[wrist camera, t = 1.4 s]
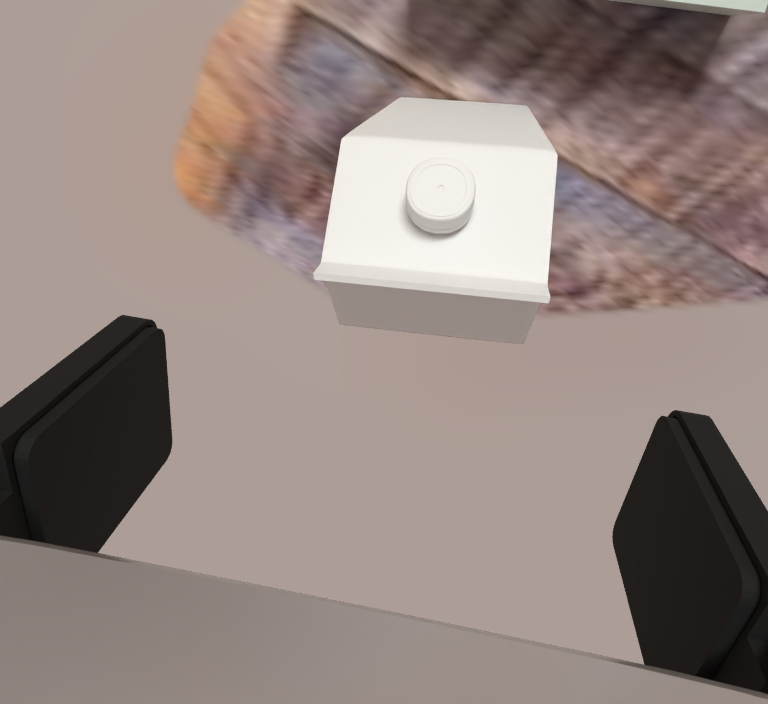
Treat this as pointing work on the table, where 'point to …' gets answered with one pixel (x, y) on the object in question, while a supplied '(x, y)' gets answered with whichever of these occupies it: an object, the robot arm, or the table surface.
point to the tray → (708, 5)
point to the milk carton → (442, 220)
